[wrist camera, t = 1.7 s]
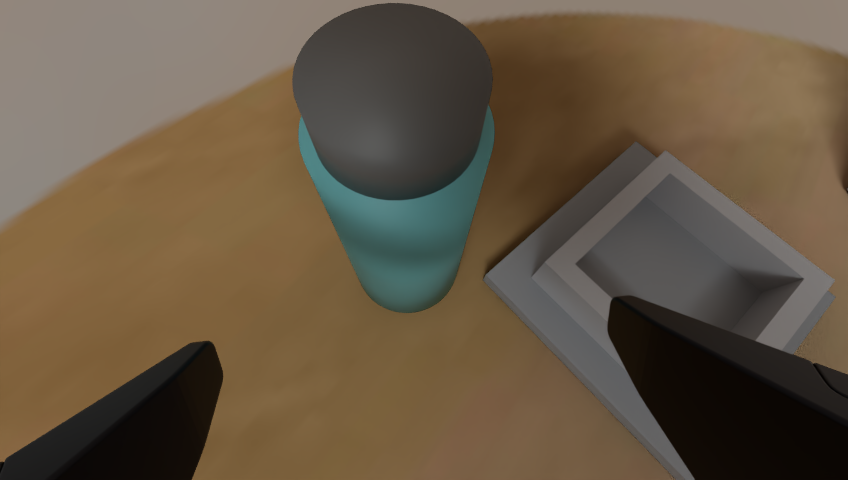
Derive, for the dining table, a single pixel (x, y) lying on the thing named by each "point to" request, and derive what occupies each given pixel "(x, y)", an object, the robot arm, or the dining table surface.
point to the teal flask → (397, 143)
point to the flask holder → (654, 276)
